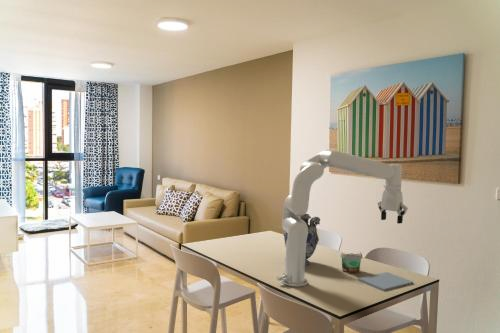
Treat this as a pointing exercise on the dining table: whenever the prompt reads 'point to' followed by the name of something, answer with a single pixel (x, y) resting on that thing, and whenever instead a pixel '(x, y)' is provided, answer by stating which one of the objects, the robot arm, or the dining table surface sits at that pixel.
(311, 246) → the decorative vase
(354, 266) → the food container
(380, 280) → the slate mat
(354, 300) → the dining table surface
